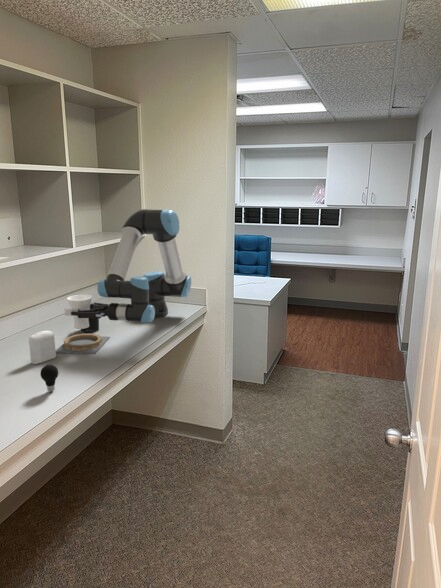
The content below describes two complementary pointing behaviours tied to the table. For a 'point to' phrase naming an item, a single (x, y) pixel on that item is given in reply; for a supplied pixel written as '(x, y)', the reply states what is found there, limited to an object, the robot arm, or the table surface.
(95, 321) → the pen holder
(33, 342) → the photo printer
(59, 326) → the table surface
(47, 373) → the light bulb
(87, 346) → the collar ring
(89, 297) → the cup
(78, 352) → the collar mat
